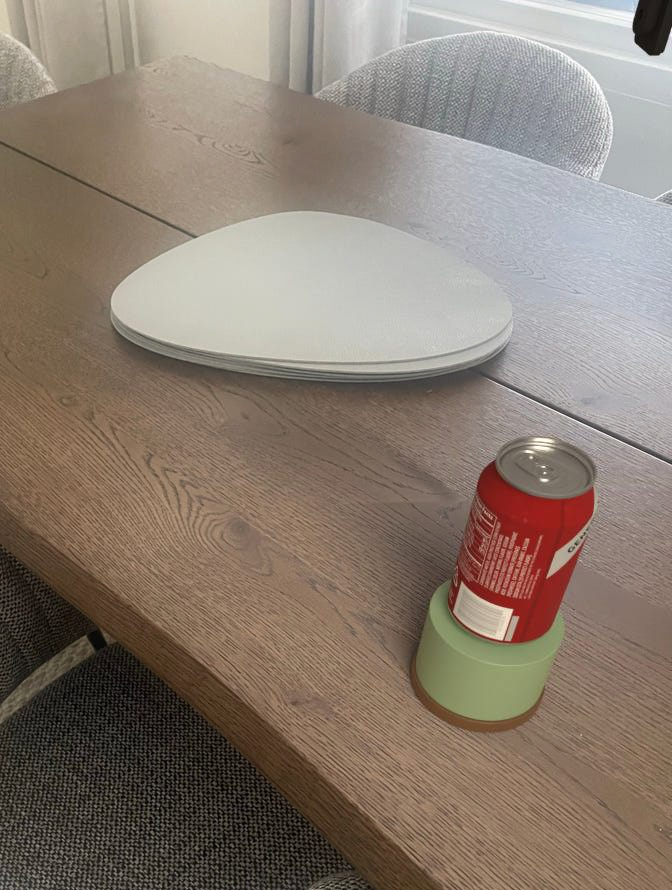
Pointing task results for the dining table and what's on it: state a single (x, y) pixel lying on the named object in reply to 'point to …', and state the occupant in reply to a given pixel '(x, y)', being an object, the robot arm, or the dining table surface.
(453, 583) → the soda can
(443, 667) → the pedestal
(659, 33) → the robot arm
